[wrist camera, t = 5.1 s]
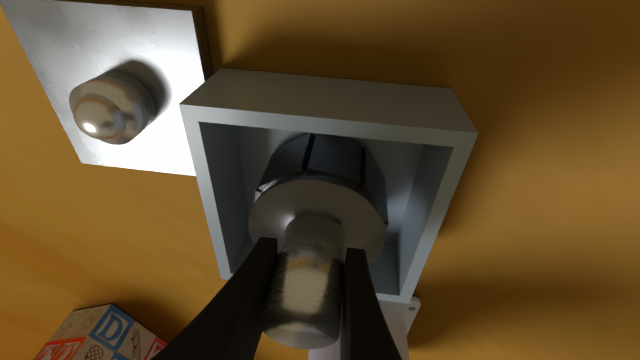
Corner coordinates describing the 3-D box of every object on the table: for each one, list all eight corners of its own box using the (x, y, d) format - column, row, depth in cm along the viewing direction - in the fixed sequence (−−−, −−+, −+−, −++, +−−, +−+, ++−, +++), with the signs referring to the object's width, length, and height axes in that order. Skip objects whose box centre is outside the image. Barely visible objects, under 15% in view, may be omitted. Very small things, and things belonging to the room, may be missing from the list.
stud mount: (228, 168, 17) (201, 212, 14) (94, 153, 18) (42, 192, 15) (202, 6, 12) (154, 25, 10) (18, -8, 13) (-80, 6, 10)
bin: (401, 245, 19) (408, 304, 16) (244, 226, 20) (221, 278, 17) (451, 88, 13) (478, 133, 10) (221, 67, 14) (178, 104, 11)
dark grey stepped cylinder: (399, 152, 14) (424, 304, 8) (360, 233, 18) (358, 381, 12) (278, 120, 14) (211, 252, 8) (263, 209, 18) (209, 347, 12)
